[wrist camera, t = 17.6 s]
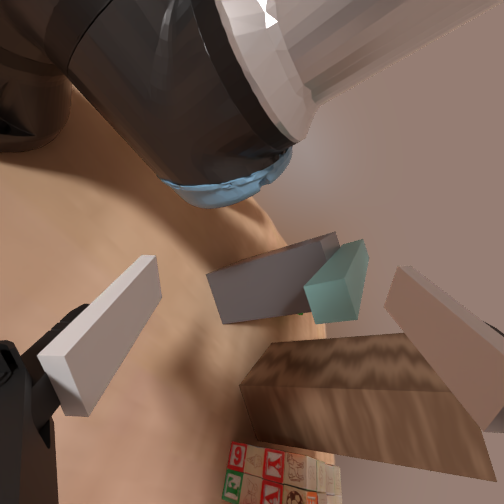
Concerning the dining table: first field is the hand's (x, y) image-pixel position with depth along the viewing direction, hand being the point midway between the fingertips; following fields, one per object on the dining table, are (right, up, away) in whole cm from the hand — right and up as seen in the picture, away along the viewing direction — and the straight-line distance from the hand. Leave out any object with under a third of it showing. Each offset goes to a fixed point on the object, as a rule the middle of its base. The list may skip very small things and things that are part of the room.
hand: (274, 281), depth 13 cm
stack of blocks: (+1, -36, +26) cm, 44 cm away
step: (-5, -5, +32) cm, 33 cm away
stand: (+1, -24, +32) cm, 41 cm away
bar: (+10, -1, +19) cm, 21 cm away
